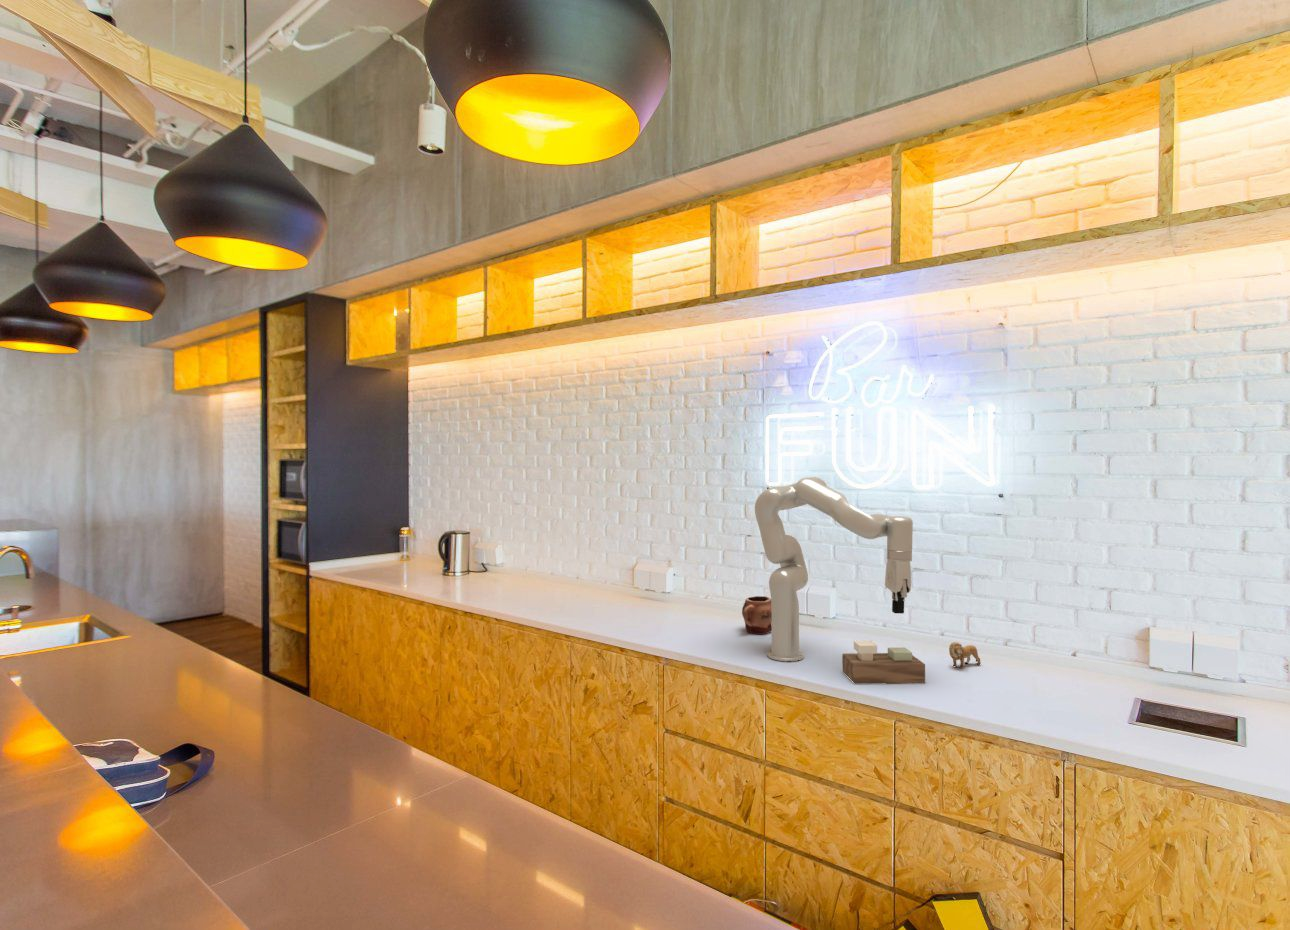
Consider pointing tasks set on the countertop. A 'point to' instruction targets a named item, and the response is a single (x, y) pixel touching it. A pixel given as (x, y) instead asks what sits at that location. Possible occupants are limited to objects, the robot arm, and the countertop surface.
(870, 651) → the cream block
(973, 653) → the lion figurine
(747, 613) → the decorative planter
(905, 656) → the pale green block
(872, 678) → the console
